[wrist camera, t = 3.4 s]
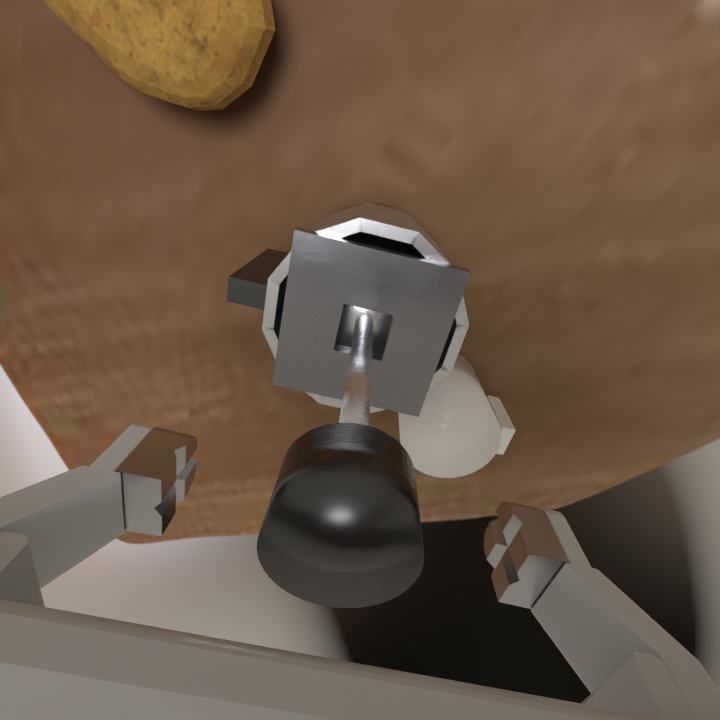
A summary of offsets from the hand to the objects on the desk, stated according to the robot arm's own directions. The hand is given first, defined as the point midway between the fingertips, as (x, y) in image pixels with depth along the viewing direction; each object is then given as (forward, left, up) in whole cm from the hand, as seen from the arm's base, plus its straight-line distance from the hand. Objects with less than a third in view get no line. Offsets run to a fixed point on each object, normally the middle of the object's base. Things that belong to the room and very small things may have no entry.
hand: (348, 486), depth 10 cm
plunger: (0, 0, -13) cm, 13 cm away
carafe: (+1, 0, -22) cm, 22 cm away
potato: (+15, -13, -23) cm, 30 cm away
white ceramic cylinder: (-8, +8, -22) cm, 25 cm away
